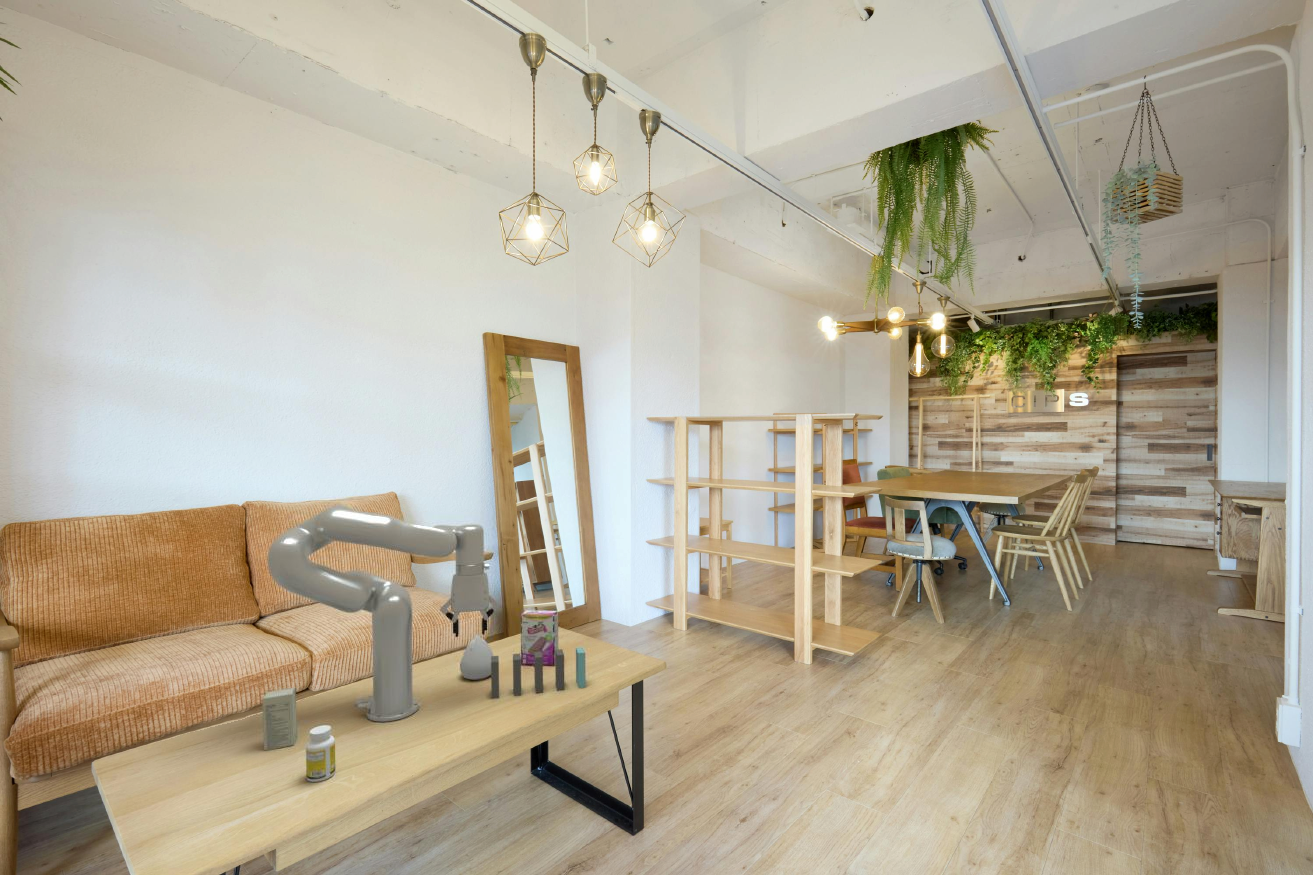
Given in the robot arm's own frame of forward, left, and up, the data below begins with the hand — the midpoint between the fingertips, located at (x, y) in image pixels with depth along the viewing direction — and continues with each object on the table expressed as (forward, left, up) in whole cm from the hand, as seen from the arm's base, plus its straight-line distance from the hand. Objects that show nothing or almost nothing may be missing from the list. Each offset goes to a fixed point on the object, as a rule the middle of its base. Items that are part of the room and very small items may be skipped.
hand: (470, 633), depth 166 cm
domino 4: (+25, 0, -18) cm, 30 cm away
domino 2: (+13, 0, -18) cm, 22 cm away
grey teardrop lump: (+2, +16, -18) cm, 24 cm away
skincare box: (-42, -14, -18) cm, 48 cm away
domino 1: (+7, 0, -18) cm, 19 cm away
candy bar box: (+21, +21, -18) cm, 34 cm away
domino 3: (+19, 0, -18) cm, 26 cm away
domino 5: (+31, 0, -18) cm, 35 cm away
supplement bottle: (-29, -32, -18) cm, 47 cm away
